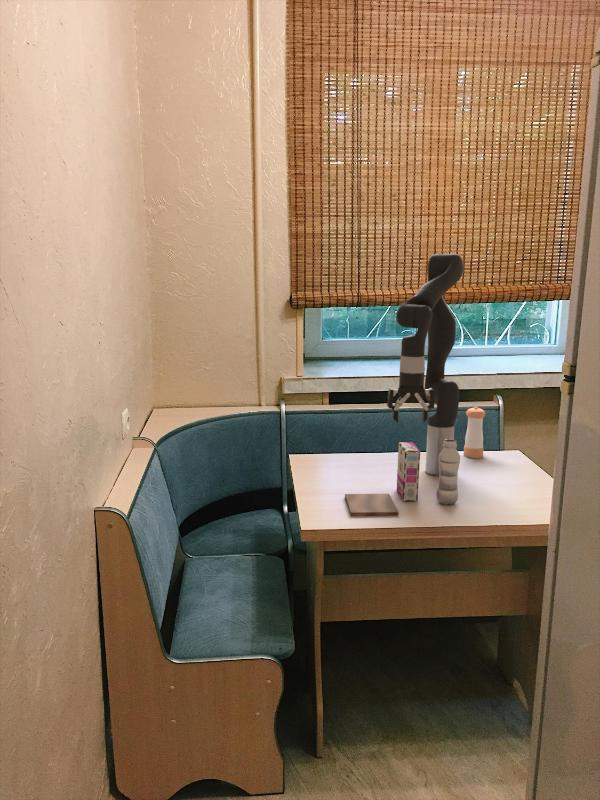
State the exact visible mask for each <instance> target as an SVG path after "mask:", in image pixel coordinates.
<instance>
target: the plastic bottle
mask: <svg viewBox="0 0 600 800" xmlns="http://www.w3.org/2000/svg"><path fill="white" fill-rule="evenodd" d="M443 446H444V449H443V450H442V451H441V453H440V454H439V473H440V474H439V476H438V477H439V478H438V479H439V480H438V485H437V490H436V493H435V494H436V495H435V497H436V500H437V502H438V503H440V504H443V505H454V504H456V503H457V501H458V499H459V490H458V474H459V469H460V468H459V467H460V463H461V455H460V453H459V451H458V450H457V440H455V439H454V440H453V439H446V440H444V444H443Z"/></svg>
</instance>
